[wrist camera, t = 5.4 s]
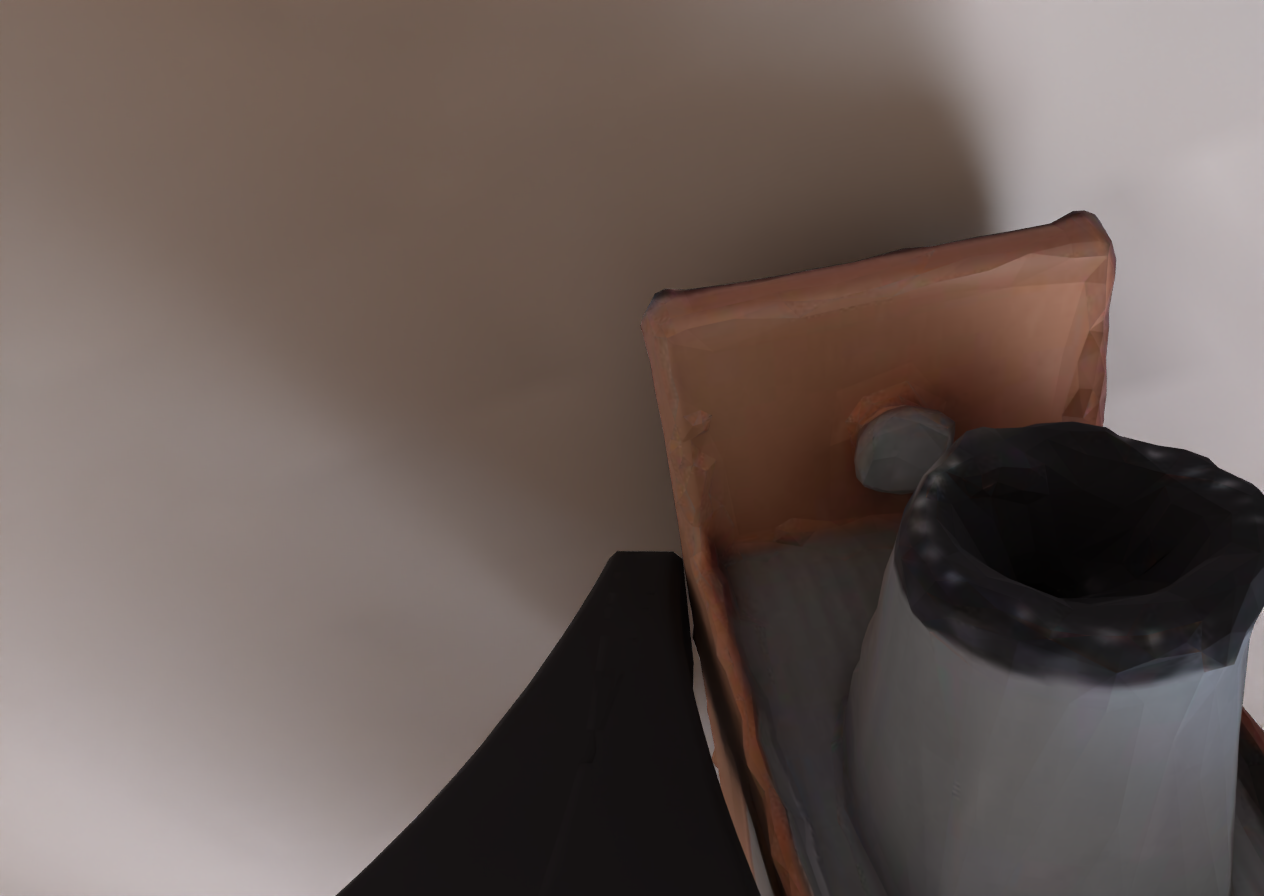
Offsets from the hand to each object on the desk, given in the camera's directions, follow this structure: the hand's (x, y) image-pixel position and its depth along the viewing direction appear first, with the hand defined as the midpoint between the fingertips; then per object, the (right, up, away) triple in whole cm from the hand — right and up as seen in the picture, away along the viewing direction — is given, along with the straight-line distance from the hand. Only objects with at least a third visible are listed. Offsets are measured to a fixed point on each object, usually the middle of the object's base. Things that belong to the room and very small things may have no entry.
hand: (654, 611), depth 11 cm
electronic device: (+2, +1, +1) cm, 3 cm away
